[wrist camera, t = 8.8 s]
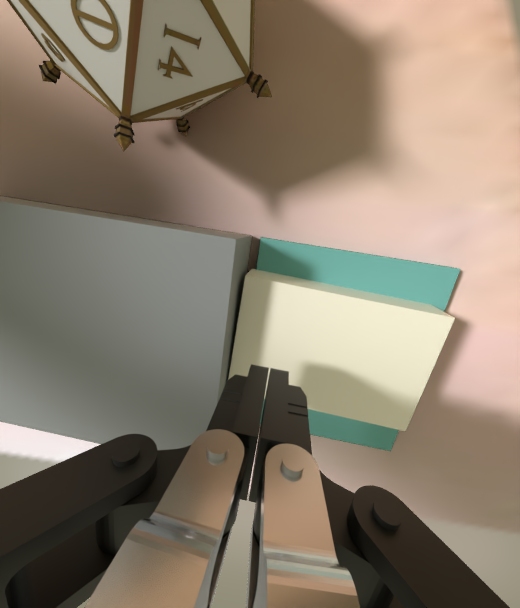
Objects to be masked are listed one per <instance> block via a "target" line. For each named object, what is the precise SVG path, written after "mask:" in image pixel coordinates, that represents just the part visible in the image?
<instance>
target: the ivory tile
mask: <svg viewBox="0 0 520 608" xmlns="http://www.w3.org/2000/svg"><path fill="white" fill-rule="evenodd" d="M454 319H455V318H454V317H453V316H451V315H449V314H447V313H445V312H444V311H442V310H440V309H438V308H436V307H435V306H433V305H431V304H426V303H421V302H416V301H411V300H406V299H401V298H396V297H391V296H386V295H381V294H376V293H371V292H366V291H361V290H356V289H351V288H346V287H341V286H336V285H331V284H326V283H321V282H316V281H311V280H306V279H301V278H296V277H291V276H286V275H281V274H276V273H271V272H266V271H261V270H256V269H251V270H250V271H249V272H248V273H247V274H246V275H245V281H244V287H243V293H242V299H241V305H240V311H239V317H238V323H237V329H236V336H235V342H234V348H233V354H232V360H231V366H230V372H229V378H228V380H229V379H230V378H231V377H233V376H234V375H235V374H236V375H241V376H246V377H247V376H248V373H249V369H250V366H251V364H252V365H258V366H263V367H268V368H269V371H268V377H267V383H266V389H265V396H266V390H267V385H268V379H269V373H270V368H274V369H279V370H284V371H289V385H293V386H298V387H301V389H302V390H303V392H304V393H305V395H306V397H307V409H310V410H315V411H319V412H323V413H328V414H332V415H337V416H341V417H345V418H350V419H354V420H358V421H363V422H367V423H371V424H376V425H380V426H384V427H389V428H393V429H397V430H402V431H406V429H407V427H408V425H409V422H410V420H411V418H412V416H413V413H414V411H415V409H416V406H417V404H418V402H419V400H420V397H421V395H422V393H423V390H424V388H425V386H426V384H427V381H428V379H429V377H430V374H431V372H432V370H433V368H434V365H435V363H436V361H437V358H438V356H439V354H440V351H441V349H442V347H443V345H444V342H445V340H446V338H447V335H448V333H449V331H450V329H451V326H452V324H453V322H454ZM265 396H264V399H265Z"/></svg>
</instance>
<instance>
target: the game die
mask: <svg viewBox="0 0 520 608" xmlns="http://www.w3.org/2000/svg"><path fill="white" fill-rule="evenodd" d="M7 1H8V2H9V4H10V5H11V6H12V8H13V9H14V10H15V12H16V13H17V15H18V16H19V17H20V19H21V20H22V21H23V23H24V24H25V25H26V27H27V28H28V30H29V31H30V32H31V34H32V35H33V36H34V38H35V39H36V41H37V42H38V43H39V45H40V46H41V47H42V49H43V50H44V52H45V53H46V54H47V56H48V57H49V58H50V61H43V63H44V64H43V65H39V67H40V69H41V73H42V79H43V81H48V82H54V83H55V84H56V82H57V78H58V79H60V74H61V72H60V71H62V72H63V73H65V74H66V75H67V76H68V77H69V78H71V79H72V80H73V81H74V82H76V83H77V84H78V85H79V86H80V87H82V88H83V89H84V90H85V91H86V92H88V93H89V94H90V95H91V96H93V97H94V98H95V99H96V100H97V101H99V102H100V103H101V104H102V105H103V106H105V107H106V108H107V109H108V110H110V111H111V112H112V113H113V114H114V115H116V116H117V117H118V118H119V123H118V125H116V126H115V129H116V133H115V134H114V137H116V138H117V140H118V142H119V144H120V146H121V148H122V150H123V151H124V150H125V149H126V148H127V147H128V146H129V145H130V144H131V143H134V140H133V135H134V132H133V130H132V127H131V125H132V123H136V122H147V121H159V120H170V119H177V120H176V121H177V127H178V132H181V133H182V134H184V135H185V136H186V135H187V132H188V130H189V128H190V126H189V125H188V121H187V120H186V119H185V118H184V117H185V116H187V115H188V114H190V113H192V112H194V111H196V110H198V109H199V108H201V107H203V106H205V105H207V104H209V103H210V102H212V101H214V100H216V99H218V98H219V97H221V96H223V95H225V94H227V93H229V92H230V91H232V90H234V89H236V88H238V87H240V86H241V85H243V84H245V83H248V84H249V85H250V87H251V89H252V91H251V92H252V93H253V92H255V93H256V94H257V98H258V97H272V96H271V93H270V90H269V87H268V84H267V82H268V81H267V80H265V81H264V80H263V79H262V76H261V75H256V74H254V72H253V42H254V8H255V0H7Z"/></svg>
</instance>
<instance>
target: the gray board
mask: <svg viewBox="0 0 520 608" xmlns="http://www.w3.org/2000/svg"><path fill="white" fill-rule="evenodd" d="M251 241H252V236H251V235H244V234H238V233H232V232H225V231H219V230H213V229H207V228H200V227H194V226H188V225H181V224H175V223H169V222H162V221H156V220H150V219H143V218H137V217H131V216H125V215H118V214H112V213H106V212H99V211H93V210H87V209H80V208H74V207H68V206H61V205H55V204H49V203H42V202H36V201H30V200H24V199H17V198H11V197H5V196H0V422H5V423H9V424H14V425H18V426H23V427H27V428H32V429H36V430H40V431H45V432H49V433H54V434H58V435H63V436H67V437H72V438H76V439H81V440H85V441H90V442H94V443H98V444H103V443H106V442H108V441H110V440H112V439H115V438H117V437H120V436H123V435H127V434H142V435H146V436H148V437H150V438H151V439H152V440H153V441H154V442H155V444H156V446H157V450H169V449H179V448H183V447H187V446H189V445H192V443H193V442H194V440H195V439H196V438H197V437H198V436H199V435H200V434H202V433H204V432H206V430H207V427H208V425H209V423H210V420H211V418H212V415H213V413H214V411H215V408H216V406H217V403H218V401H219V400H220V396H221V394H222V392H223V389H224V387H225V384H226V382H227V381H228V378H229V372H230V366H231V360H232V354H233V348H234V342H235V336H236V329H237V323H238V317H239V311H240V305H241V299H242V293H243V287H244V281H245V275H246V274H247V271H248V263H249V256H250V248H251Z"/></svg>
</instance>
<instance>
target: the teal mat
mask: <svg viewBox="0 0 520 608" xmlns="http://www.w3.org/2000/svg"><path fill="white" fill-rule="evenodd" d="M256 270H261V271H266V272H271V273H276V274H281V275H286V276H291V277H296V278H301V279H306V280H311V281H316V282H321V283H326V284H331V285H336V286H341V287H346V288H351V289H356V290H361V291H366V292H371V293H376V294H381V295H386V296H391V297H396V298H401V299H406V300H411V301H416V302H421V303H426V304H431V305H433V306H435V307H436V308H438V309H440V310H442V311H445V308H446V306H447V303H448V300H449V298H450V295H451V293H452V290H453V287H454V285H455V282H456V279H457V277H458V274H459V272H460V269H458V268H453V267H446V266H440V265H434V264H427V263H421V262H415V261H408V260H402V259H396V258H390V257H383V256H377V255H371V254H364V253H358V252H352V251H345V250H339V249H333V248H326V247H320V246H314V245H308V244H301V243H295V242H289V241H282V240H276V239H270V238H263V237H261V240H260V247H259V254H258V261H257V268H256ZM264 401H265V399H264ZM263 407H264V402H263ZM262 413H263V408H262ZM308 418H309V430H310V434H311V435H316V436H321V437H325V438H330V439H335V440H340V441H345V442H349V443H354V444H359V445H364V446H368V447H373V448H378V449H383V450H388V451H391V449H392V447H393V444H394V441H395V439H396V436H397V434H398V431H399V430H397V429H393V428H389V427H384V426H380V425H376V424H371V423H367V422H363V421H358V420H354V419H350V418H345V417H341V416H337V415H332V414H328V413H323V412H319V411H315V410H310V409H308ZM261 419H262V414H261ZM260 424H261V421H260Z"/></svg>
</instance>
